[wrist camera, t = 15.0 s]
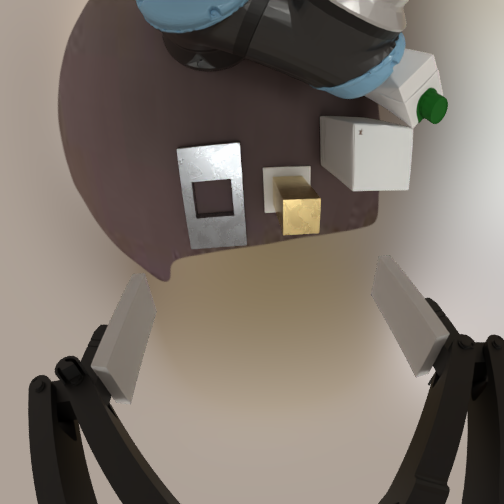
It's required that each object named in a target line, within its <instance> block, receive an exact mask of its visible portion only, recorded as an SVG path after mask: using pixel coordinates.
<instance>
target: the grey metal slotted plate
mask: <svg viewBox="0 0 504 504" xmlns="http://www.w3.org/2000/svg"><path fill="white" fill-rule="evenodd" d="M177 157H178V165H179V172H180V180H181V187H182V194H183V201H184V207H185V214H186V220H187V226H188V233H189V239H190V244H191V249H199V248H213V247H226V246H240V245H247V240H246V226H245V212H244V198H243V183H242V169H241V155H240V141H238V142H225V143H214V144H204V145H195V146H187V147H179V148H178V149H177ZM220 179H231V183H232V194H233V206H234V211H233V212H220V213H208V214H198V212H197V205H196V197H195V190H194V182H199V181H209V180H220Z"/></svg>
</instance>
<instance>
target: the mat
mask: <svg viewBox="0 0 504 504" xmlns="http://www.w3.org/2000/svg"><path fill="white" fill-rule="evenodd" d="M281 176H303V178H304V179H305V180H306V181H307V182H308V184H309V185H310V166H282V167H263V185H264V208H265V213H272V212H276V211H275V208H274V205H273V177H281Z"/></svg>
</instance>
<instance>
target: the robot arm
mask: <svg viewBox="0 0 504 504" xmlns="http://www.w3.org/2000/svg"><path fill="white" fill-rule="evenodd" d="M408 1H409V0H136V3H137V6H138V8H139V10H140V11H141V13H142V14H143V16H144V18H145V20H146V21H147V22H148V23H150V25H151V26H154V28H156V29H158V30H159V31H161V32H162V33H163V40H164V44H165V46H166V48H167V50H168V52H169V53H170V54H171V55H172V57H173V58H174V59H176V60H177V61H178V62H180V63H181V64H183V65H184V66H186V67H189V68H191V69H195V70H199V71H219V70H223V69H227V68H230V67H232V66H234V65H236V64H238V63H240V62H241V61H243V60H244V59H245V58H246V59H249V60H251V61H254V62H257V63H259V64H262V65H265V66H267V67H270V68H272V69H275V70H277V71H280V72H282V73H285V74H287V75H289V76H291V77H294V78H296V79H298V80H300V81H303V82H305V83H307V84H309V85H310V86H311V87H313V88H316V89H318V90H323V91H326V92H328V93H331V94H333V95H335V96H337V97H340V98H344V99H353V98H358V97H361V96H364V95H366V94H368V93H370V92H372V91H373V90H375V89H376V88H377V87H379V86H380V85H381V84H382V83H383V82H385V81H386V80H387V79H388V77H389V76H390V75H391V74H392V73H393V67H394V66H395V65H397V64H399V63H400V61H401V59H402V57H403V54H404V50H405V38H404V35H403V34H402V31H403V30H404V29H405V28H406V26H407V24H406V18H405V14H404V5H405V4H406V3H407V2H408ZM371 296H372V297H373V299H374V300H375V302H376V304H377V306H378V308H379V309H380V311H381V313H382V314H383V316H384V318H385V320H386V322H387V323H388V325H389V327H390V329H391V331H392V333H393V334H394V336H395V338H396V340H397V342H398V344H399V346H400V348H401V349H402V351H403V353H404V355H405V357H406V359H407V361H408V363H409V365H410V367H411V369H412V371H413V373H414V375H415V377H419V376H422V375H426V374H428V373H429V371H430V370H431V368H432V366H433V367H434V368H435V370H436V372H435V374H434V375H433V377H432V378H431V380H430V381H429V383H428V385H430V384H431V386H430V389H429V393H428V396H427V399H426V402H425V405H424V408H423V411H422V414H421V417H420V420H419V423H418V425H417V428H416V431H415V434H414V436H413V438H412V441H411V443H410V446H409V448H408V450H407V453H406V455H405V457H404V460H403V462H402V464H401V466H400V468H399V471H398V472H397V474H396V476H395V478H394V480H393V482H392V485H391V486H390V488H389V490H388V492H387V493H386V495H385V496H384V497H383V498H382V499H381V501H380V502H379V503H378V504H445V503H446V500H447V498H448V495H449V487H448V486H447V481H448V478H449V475H450V472H451V469H452V466H453V463H454V460H455V457H456V453H457V450H458V447H459V443H460V440H461V436H462V432H463V428H464V424H465V419H466V415H467V412H468V442H467V462H466V474H465V483H464V491H463V498H462V504H504V340H503V338H501V337H500V336H498V335H490V336H489V337H488V339H487V340H486V342H483V343H482V342H481V343H480V342H474V340H473V339H472V338H470V337H469V336H467V335H463V334H459V333H458V331H457V330H456V328H455V327H454V326H453V324H452V323H451V322H450V320H449V319H448V317H447V316H446V315H445V313H444V312H443V311H442V309H441V308H440V307H439V306H438V304H437V303H436V302H435V301H433V300H432V299H430V298H425V299H424V297H423V296H422V295H421V293H420V292H419V291H418V289H417V288H416V287H415V286H414V285H413V283H412V282H411V280H410V279H409V278H408V277H407V276H406V274H405V273H404V272H403V270H402V269H401V268H400V267H399V265H398V264H397V263H396V262H395V261H394V259H393V258H392V257H391V256H390V255H386V256H379V257H378V263H377V268H376V273H375V278H374V283H373V288H372V293H371ZM156 312H157V311H156V308H155V305H154V301H153V298H152V295H151V292H150V288H149V285H148V282H147V278H146V275H145V273H143V274H133V275H132V277H131V279H130V280H129V283H128V284H127V287H126V288H125V290H124V292H123V294H122V296H121V299H120V301H119V303H118V305H117V307H116V309H115V311H114V313H113V315H112V318H111V320H110V322H109V324H108V325H100V326H99V327H98V328H97V329H96V331H94V334H93V336H92V338H91V341H90V342H89V344H88V347H87V349H86V351H85V353H84V355H83V358H82V360H81V362H80V360H79V359H78V358H77V357H75V356H67V357H65V358H63V359H61V360H60V361H59V362H58V364H57V365H56V368H55V374H56V375H57V377H58V378H59V379H60V380H58V381H52V382H51V380H50V379H49V378H48V377H47V376H45V375H39V376H37V377H35V378H34V379H33V380H32V381H31V383H30V386H29V402H28V406H29V408H28V416H29V439H30V453H31V463H32V471H33V478H34V485H35V490H36V496H37V501H38V504H98V503H97V500H96V497H95V494H94V490H93V487H92V484H91V479H90V476H89V472H88V468H87V464H86V460H85V455H84V450H83V445H82V440H81V434H80V429H79V424H80V427H81V429H82V431H83V433H84V435H85V437H86V440H87V442H88V444H89V446H90V448H91V450H92V452H93V454H94V456H95V458H96V460H97V462H98V464H99V465H100V467H101V469H102V471H103V472H104V474H105V476H106V478H107V479H108V481H109V483H110V484H111V486H112V488H113V489H114V491H115V493H116V494H117V496H118V497H119V499H120V500H121V502H122V503H123V504H180V503H179V502H178V501H177V499H176V498H175V497H174V496H173V495H172V493H171V492H170V491H169V490H168V489H167V488H166V486H165V485H164V484H163V482H162V481H161V480H160V478H159V477H158V476H157V475H156V473H155V472H154V471H153V469H152V468H151V467H150V465H149V464H148V462H147V461H146V460H145V458H144V457H143V455H142V454H141V452H140V451H139V450H138V448H137V446H136V445H135V443H134V442H133V440H132V439H131V437H130V436H129V434H128V432H127V431H126V429H125V428H124V426H123V424H122V423H121V421H120V419H119V418H118V416H117V414H116V413H115V411H114V409H113V407H112V406H111V404H110V403H109V402H110V399H111V396H112V397H113V399H114V400H115V402H116V403H124V404H131V401H132V397H133V393H134V389H135V385H136V381H137V378H138V373H139V370H140V366H141V363H142V359H143V355H144V352H145V348H146V345H147V341H148V338H149V335H150V331H151V328H152V325H153V322H154V319H155V315H156Z"/></svg>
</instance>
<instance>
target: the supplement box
mask: <svg viewBox="0 0 504 504" xmlns="http://www.w3.org/2000/svg"><path fill="white" fill-rule="evenodd" d="M412 145H413V128H411V127H407V126H404V125H399V124H395V123H390V122H386V121H381V120H376V119H370V118H364V117H346V116H320V156H321V165H322V166H323V167H324V168H325V169H327V170H328V171H329V172H330V173H332V174H333V175H334V176H335V177H337V178H338V179H339V180H340V181H341V182H343V183H344V184H345V185H346V186H347V187H348V188H350V189H351V190H352V191H379V190H409V182H410V170H411V158H412Z"/></svg>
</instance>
